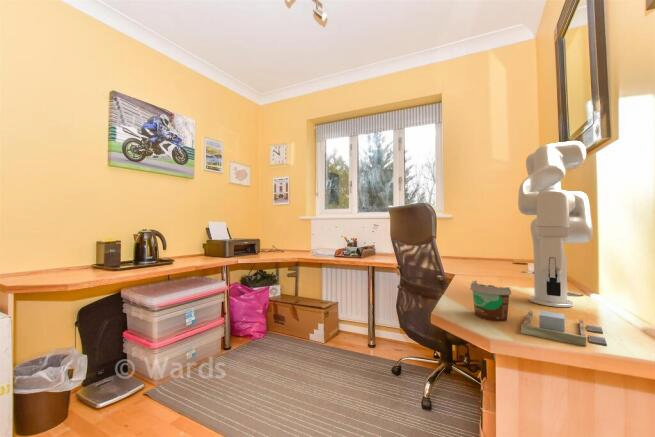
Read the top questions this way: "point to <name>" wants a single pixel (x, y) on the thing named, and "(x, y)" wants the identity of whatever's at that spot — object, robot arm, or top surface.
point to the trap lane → (561, 335)
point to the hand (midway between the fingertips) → (553, 294)
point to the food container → (490, 301)
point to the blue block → (552, 321)
